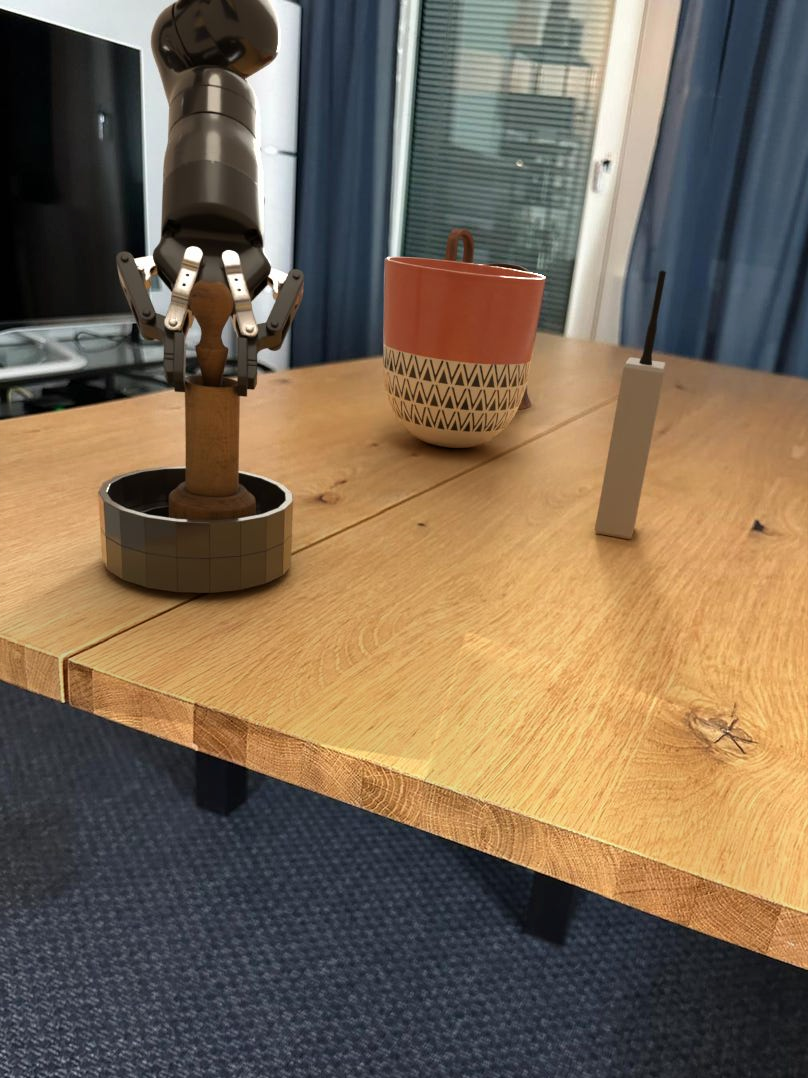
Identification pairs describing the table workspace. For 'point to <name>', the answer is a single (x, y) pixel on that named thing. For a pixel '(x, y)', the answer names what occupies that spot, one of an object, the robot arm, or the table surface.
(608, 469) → the vintage mobile phone
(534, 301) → the planter
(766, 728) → the table surface
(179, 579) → the bowl
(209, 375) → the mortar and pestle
